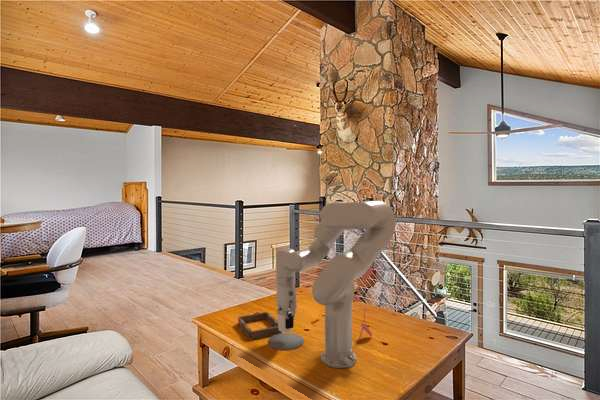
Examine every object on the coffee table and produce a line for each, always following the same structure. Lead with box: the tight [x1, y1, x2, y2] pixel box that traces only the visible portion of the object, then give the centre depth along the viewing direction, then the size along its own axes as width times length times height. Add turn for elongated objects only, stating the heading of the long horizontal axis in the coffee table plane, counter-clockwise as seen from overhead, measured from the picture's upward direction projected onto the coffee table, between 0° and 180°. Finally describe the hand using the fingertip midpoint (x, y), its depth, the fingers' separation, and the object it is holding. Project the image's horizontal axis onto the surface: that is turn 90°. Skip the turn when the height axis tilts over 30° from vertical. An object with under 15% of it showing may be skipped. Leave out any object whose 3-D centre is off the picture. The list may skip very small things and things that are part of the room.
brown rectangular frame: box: [237, 311, 283, 341], centre depth 147 cm, size 18×14×3 cm
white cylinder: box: [276, 309, 294, 333], centre depth 134 cm, size 7×7×7 cm
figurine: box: [353, 262, 385, 346], centre depth 143 cm, size 15×26×35 cm, turn 41°
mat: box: [267, 332, 305, 351], centre depth 134 cm, size 14×14×1 cm
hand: (285, 324), depth 134 cm, fingers closed on white cylinder, 6 cm apart
